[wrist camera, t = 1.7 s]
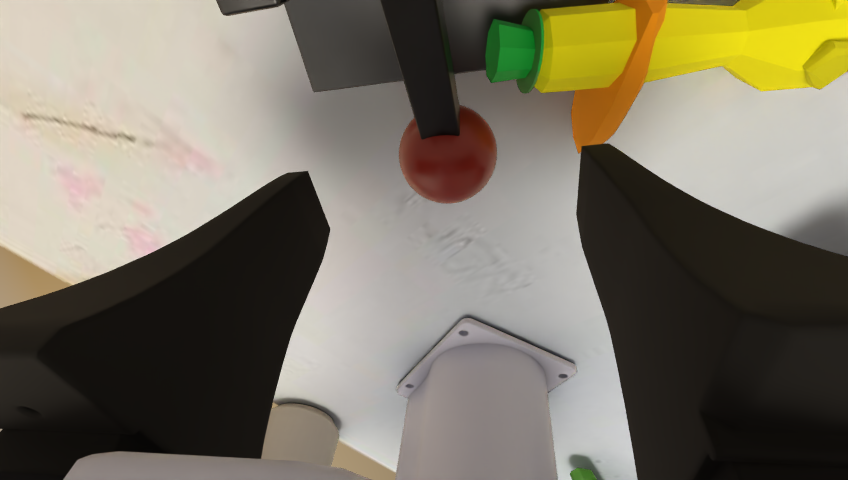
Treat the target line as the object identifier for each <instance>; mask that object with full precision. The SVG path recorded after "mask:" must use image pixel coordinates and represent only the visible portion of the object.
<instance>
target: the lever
mask: <svg viewBox="0 0 848 480" xmlns="http://www.w3.org/2000/svg"><path fill="white" fill-rule="evenodd" d="M380 2H381V6H382V9H383V12H384V16H385V19H386V23H387V26H388V29H389V33H390V36H391V39H392V43H393V46H394V50H395V53H396V56H397V60H398V63H399V66H400V70H401V73H402V77H403V80H404V83H405V87H406V90H407V93H408V97H409V100H410V103H411V107H412V110H413V114H414V118H413V119H412V121H411V122H410V123H409V124H408V126H407V127H406V129H405V131H404V133H403V135H402V138H401V141H400V147H399V162H400V167H401V170H402V173H403V175H404V177H405V179H406V181H407V182H408V184H409V185H410V186H411V187H412V189H413V190H415V191H416V192H417V193H418V194H419V195H421V196H422V197H424V198H426V199H428V200H431V201H434V202H438V203H457V202H461V201H464V200H467V199H469V198H471V197H472V196H474V195H475V194H477V193H478V192H479V191H481V190H482V188H483V187H484V186H485V185H486V184H487V182H488V181H489V179H490V178H491V176H492V174H493V171H494V169H495V165H496V160H497V147H496V141H495V138H494V135H493V132H492V130H491V128H490V127H489V125H488V124H487V122H486V121H485V120H484V119H483V118H482V117H481V116H480V115H479V114H478V113H476V112H475V111H473V110H472V109H470V108H467V107H465V106H462V105H459V100H458V94H457V88H456V82H455V76H454V70H453V64H452V58H451V51H450V45H449V39H448V33H447V27H446V21H445V15H444V9H443V3H442V0H380Z"/></svg>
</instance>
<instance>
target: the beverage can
mask: <svg viewBox="0 0 848 480" xmlns="http://www.w3.org/2000/svg"><path fill="white" fill-rule="evenodd" d="M338 439H339V432H338V429H337V428H336V426H335V425H334V422H333V420H332V419H331V417H330V416H328V415H327V414H326V413H324V412H323V411H321V410H319V409H316V408H314V407H311V406H307V405H303V404H294V403H289V404H282V405H279V406H277V407H275V408H272V409H271V412H270V417H269V421H268V426H267V430H266V435H265V439H264V445H263V451H262V456H261V459H269V460H287V461H301V462H307V463H313V464H319V465H325V466H331V464H332V461H333V457H334V453H335V450H336V446H337V443H338Z"/></svg>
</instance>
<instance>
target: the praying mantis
mask: <svg viewBox="0 0 848 480" xmlns="http://www.w3.org/2000/svg"><path fill="white" fill-rule="evenodd" d="M570 475H571V478H572V480H597V479H596V477H595V476H594V474H593V472H592V471H591V470H589V469H583V468H576V469H575V470H573V471H571V473H570Z"/></svg>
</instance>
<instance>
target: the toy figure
mask: <svg viewBox="0 0 848 480" xmlns="http://www.w3.org/2000/svg"><path fill="white" fill-rule="evenodd" d="M667 2H668V0H615V1H614V2H613V3H609V4H597V5H586V6H574V7H563V8H551V9H541V10H540V11H538V10H537V9H530V10H529V11H528V12H527V14H526V15H525V17H524V19H523V21H522V24H521V25H519V24H515V23H510V22H506V21H501V20H497V19H493V22H492V24H491V27H490V29H489V32H488V38H487V46H486V55H485V57H486V75H487V77H488V79H489V80H490V82H491V83H494V82H500V81H507V80H514V79H516V81H517V85H518V88H519V90H520V91H521V92H522V93H529V92H530V91H531V90H532V89H533V87H535V88H536V89H538V90H539V91H540V92H541V93H548V92H559V91H571V90H575V94H574V100H573V105H572V110H571V116H572V129H573V138H574V141H575V144H576V148H577V151H578V154H579V153H580V152H581V148H582V146H586V145H597V144H603V143H604V142H605V141H607V140H608V139H609V138H610V137H611V136H612V135H613V134H614V133H615V131H616V130H617V128H618V127H619V125H620V124H621V122H622V121H623V119H624V118H625V116H626V114H627V112H628V111H629V109H630V107H631V105H632V104H633V102H634V100H635V98H636V97H637V95H638V93H639V91H640V89H641V88H642V86H643V84H644V83H645V82H650V81H654V80H659V79H663V78H668V77H673V76H677V75H682V74H687V73H691V72H696V71H701V70H705V69H710V68H714V67H719V66H723V67H724V68H725V69H726V70H727V71H728V72H730V73H731V74H732V75H733V76H734V77H736V78H737V79H739V80H741V81H743V82H745V83H747V84H749V85H750V86H752V87H754V88H756V89H758V90H760V91H771V90H782V89H794V88H806V87H814V88H817V89H822V88H823V87H825V86H826V85H828V84H829V83H831V82H832V81H833V80H835V79H836V78H838V77H839V76H841V75H842V74H844V73H845V72H847V71H848V0H740V1H738V2H737V3H736V4H735V5H733V6H720V5H698V4H675V3H667Z"/></svg>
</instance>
